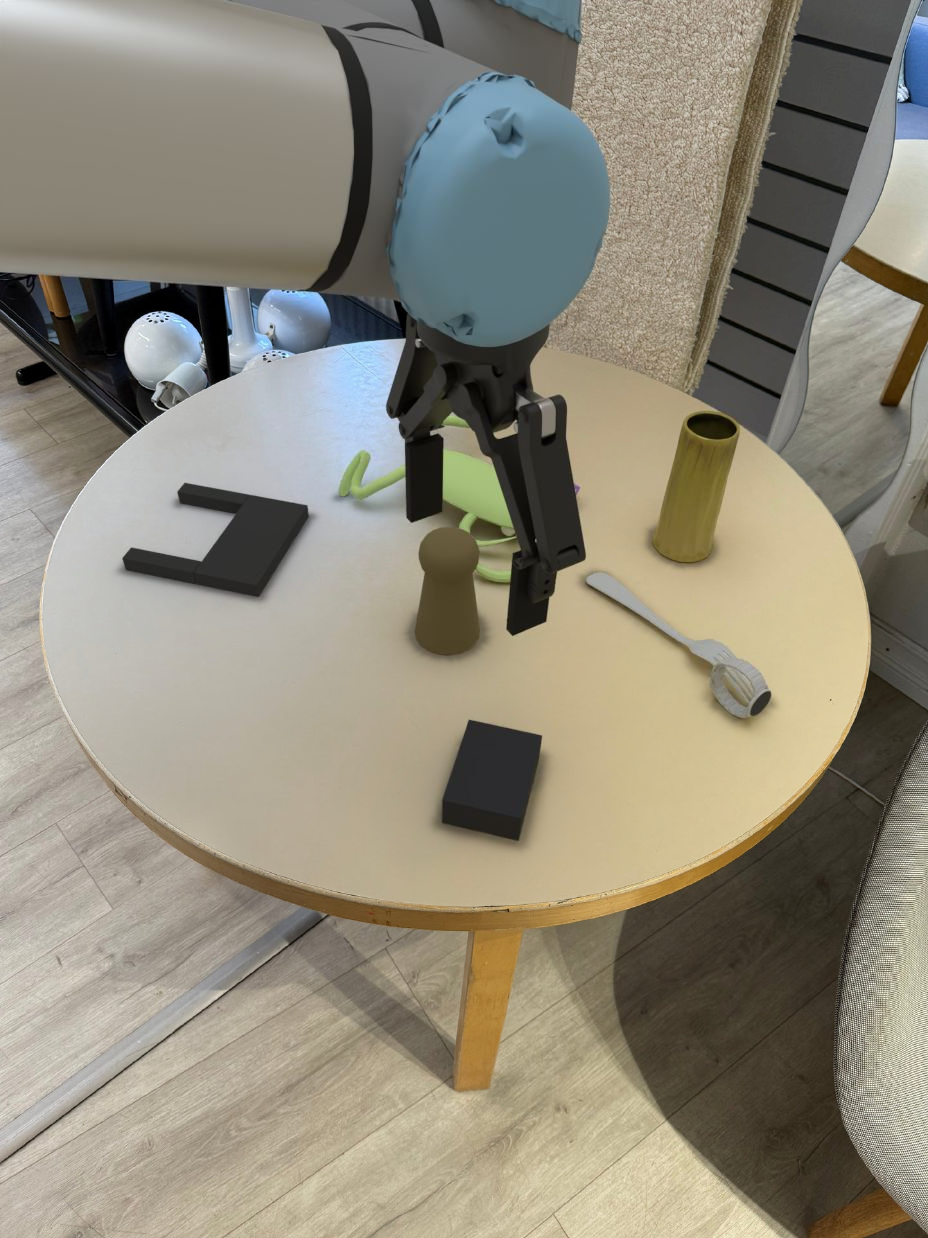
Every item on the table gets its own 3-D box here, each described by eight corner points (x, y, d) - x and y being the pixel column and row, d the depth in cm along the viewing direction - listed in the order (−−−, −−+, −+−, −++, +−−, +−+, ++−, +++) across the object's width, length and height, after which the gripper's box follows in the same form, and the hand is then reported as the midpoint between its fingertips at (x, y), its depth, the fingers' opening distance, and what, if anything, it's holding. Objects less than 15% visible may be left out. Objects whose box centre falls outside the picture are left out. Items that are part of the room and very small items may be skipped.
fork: (599, 589, 92) (600, 567, 90) (770, 698, 79) (776, 674, 77) (579, 601, 90) (580, 578, 89) (750, 713, 77) (755, 689, 76)
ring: (742, 732, 76) (758, 693, 72) (699, 695, 79) (711, 655, 75) (765, 717, 77) (781, 677, 74) (721, 681, 80) (735, 641, 77)
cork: (452, 599, 87) (454, 507, 79) (493, 635, 83) (500, 542, 76) (401, 627, 84) (398, 534, 76) (442, 664, 81) (443, 571, 73)
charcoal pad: (441, 822, 69) (442, 800, 67) (467, 742, 74) (468, 719, 72) (518, 841, 68) (521, 818, 66) (539, 758, 73) (542, 735, 71)
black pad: (309, 516, 95) (307, 504, 94) (258, 596, 86) (256, 585, 85) (187, 493, 98) (184, 482, 97) (125, 569, 88) (121, 558, 87)
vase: (713, 532, 95) (747, 413, 85) (709, 568, 91) (743, 448, 81) (656, 521, 96) (682, 403, 86) (648, 556, 92) (675, 436, 82)
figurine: (434, 420, 109) (434, 378, 105) (616, 513, 97) (624, 470, 93) (319, 485, 99) (315, 441, 95) (506, 599, 87) (509, 554, 83)
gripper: (692, 352, 43) (624, 659, 58) (430, 185, 58) (430, 462, 73) (564, 391, 40) (527, 704, 55) (323, 205, 55) (345, 490, 70)
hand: (472, 567), depth 64 cm, fingers open, 13 cm apart
